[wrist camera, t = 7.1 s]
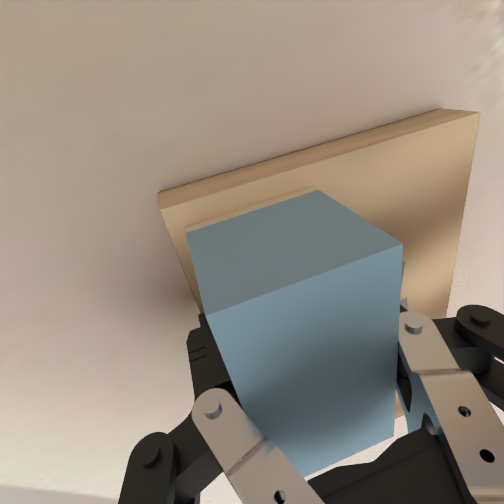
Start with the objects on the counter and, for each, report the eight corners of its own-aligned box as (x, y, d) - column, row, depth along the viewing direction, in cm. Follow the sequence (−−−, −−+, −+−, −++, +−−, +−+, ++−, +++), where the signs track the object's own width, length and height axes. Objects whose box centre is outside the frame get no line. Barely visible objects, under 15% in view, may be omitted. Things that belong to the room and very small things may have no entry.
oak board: (158, 192, 12) (159, 210, 11) (440, 108, 14) (481, 112, 12) (257, 446, 23) (266, 476, 21) (412, 380, 24) (431, 402, 23)
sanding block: (184, 227, 11) (205, 316, 7) (312, 185, 12) (403, 243, 8) (241, 381, 16) (275, 490, 12) (330, 345, 16) (393, 436, 12)
